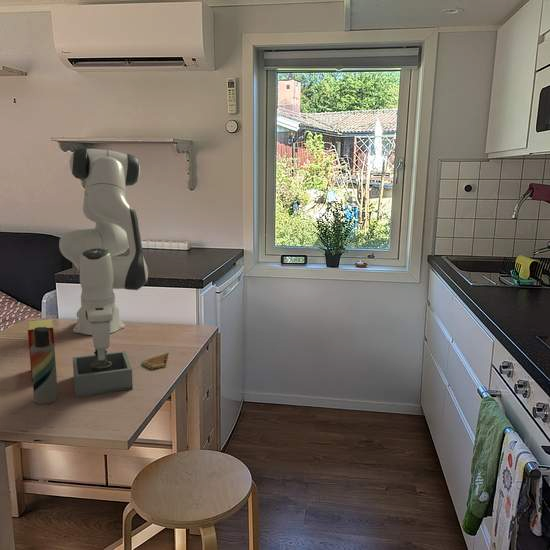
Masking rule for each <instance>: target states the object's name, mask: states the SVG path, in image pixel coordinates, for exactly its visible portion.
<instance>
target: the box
mask: <svg viewBox="0 0 550 550" xmlns="http://www.w3.org/2000/svg"><path fill="white" fill-rule="evenodd" d="M106 359H107V361H110V362H111V363H112V364H111V367H110V370H109V371H105V372H97V373H94V372H93V370H92V367H91V364H92V363H94V362H95V354H89V355H81V356H72V368H73V382H74V384H73V385H74V394H75V395H74V396H75V397H74V398H81V397H88V396H96V395H104V394H109V393H117V392H122V391H123V392H124V391H130V390H133V388H134V387H133V368H132V366H131V363H130V361H129V358H128V355H127V353H126V350H125V351H115V352H107V353H106Z"/></svg>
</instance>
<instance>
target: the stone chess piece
mask: <svg viewBox="0 0 550 550" xmlns="http://www.w3.org/2000/svg"><path fill="white" fill-rule="evenodd" d="M106 353H108V350H107V349H105V359H104V360H98V352H97V350H96V349H95V348H94V352H93V355H95V362H94V363H92V364H91V367H92V370H93V372H94V373H97V372H105V371H109V370H110V367H111V364H112V363H111V362H110V361H107V359H106Z"/></svg>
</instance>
